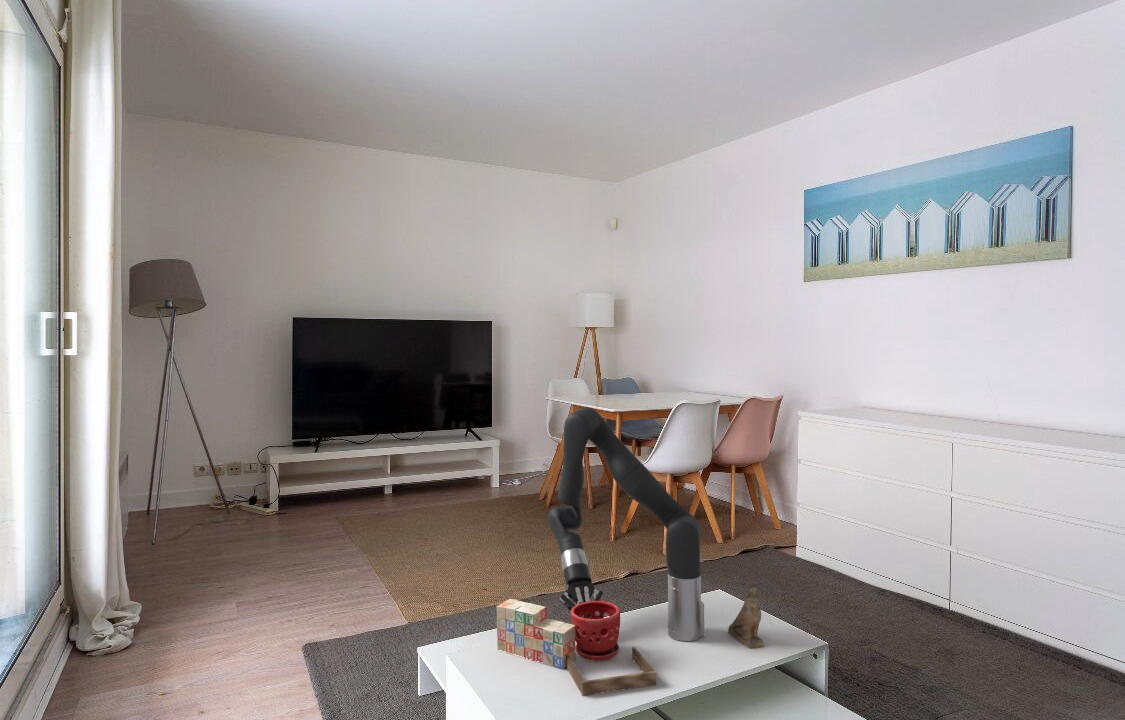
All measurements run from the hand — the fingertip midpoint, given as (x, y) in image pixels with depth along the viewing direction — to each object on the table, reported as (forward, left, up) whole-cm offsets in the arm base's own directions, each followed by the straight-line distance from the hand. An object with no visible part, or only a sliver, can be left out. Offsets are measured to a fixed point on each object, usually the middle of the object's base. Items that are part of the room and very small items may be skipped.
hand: (587, 626), depth 181 cm
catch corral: (0, +18, -5) cm, 19 cm away
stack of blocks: (+15, +2, -5) cm, 16 cm away
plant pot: (0, +6, -5) cm, 8 cm away
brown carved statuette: (-43, +9, -5) cm, 44 cm away
